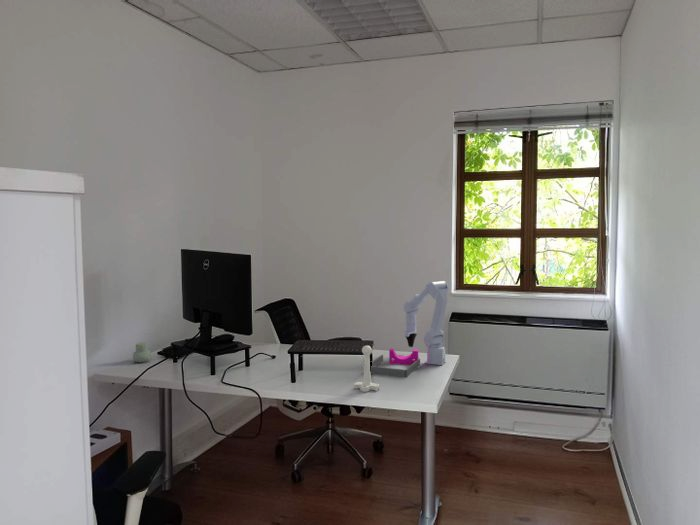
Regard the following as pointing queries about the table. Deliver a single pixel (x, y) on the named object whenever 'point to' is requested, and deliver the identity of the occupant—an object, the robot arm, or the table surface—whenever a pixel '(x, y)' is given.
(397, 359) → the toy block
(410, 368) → the grey tray
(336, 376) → the table surface
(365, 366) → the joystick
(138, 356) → the air freshener
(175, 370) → the table surface
